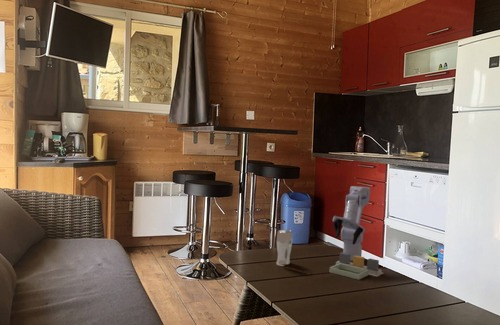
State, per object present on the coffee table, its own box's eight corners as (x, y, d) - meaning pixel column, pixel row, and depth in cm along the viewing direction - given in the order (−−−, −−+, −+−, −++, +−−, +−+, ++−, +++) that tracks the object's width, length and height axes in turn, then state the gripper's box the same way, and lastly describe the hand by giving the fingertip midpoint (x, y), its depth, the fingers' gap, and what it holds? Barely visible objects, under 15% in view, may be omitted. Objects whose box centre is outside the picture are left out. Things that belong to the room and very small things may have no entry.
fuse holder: (340, 264, 190) (341, 259, 190) (383, 275, 177) (383, 269, 177) (333, 267, 184) (333, 262, 184) (376, 278, 172) (377, 272, 171)
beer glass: (272, 264, 184) (274, 231, 183) (279, 261, 190) (280, 229, 190) (287, 267, 181) (289, 233, 180) (293, 264, 187) (295, 231, 186)
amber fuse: (354, 267, 183) (355, 255, 183) (363, 269, 180) (364, 257, 180) (352, 268, 181) (353, 256, 181) (361, 270, 178) (361, 258, 178)
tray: (339, 270, 181) (339, 263, 181) (368, 277, 173) (368, 270, 173) (329, 274, 174) (329, 267, 174) (358, 282, 166) (359, 274, 166)
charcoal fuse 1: (341, 264, 187) (342, 252, 187) (349, 266, 184) (350, 254, 184) (339, 265, 185) (339, 253, 185) (347, 267, 182) (348, 255, 182)
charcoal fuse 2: (369, 271, 179) (369, 258, 178) (378, 273, 176) (378, 260, 176) (366, 272, 177) (367, 259, 177) (375, 274, 174) (376, 261, 174)
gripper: (339, 204, 184) (333, 228, 175) (369, 217, 184) (365, 241, 175) (332, 212, 190) (327, 236, 181) (362, 225, 189) (358, 249, 180)
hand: (345, 239), depth 178 cm, fingers open, 7 cm apart
